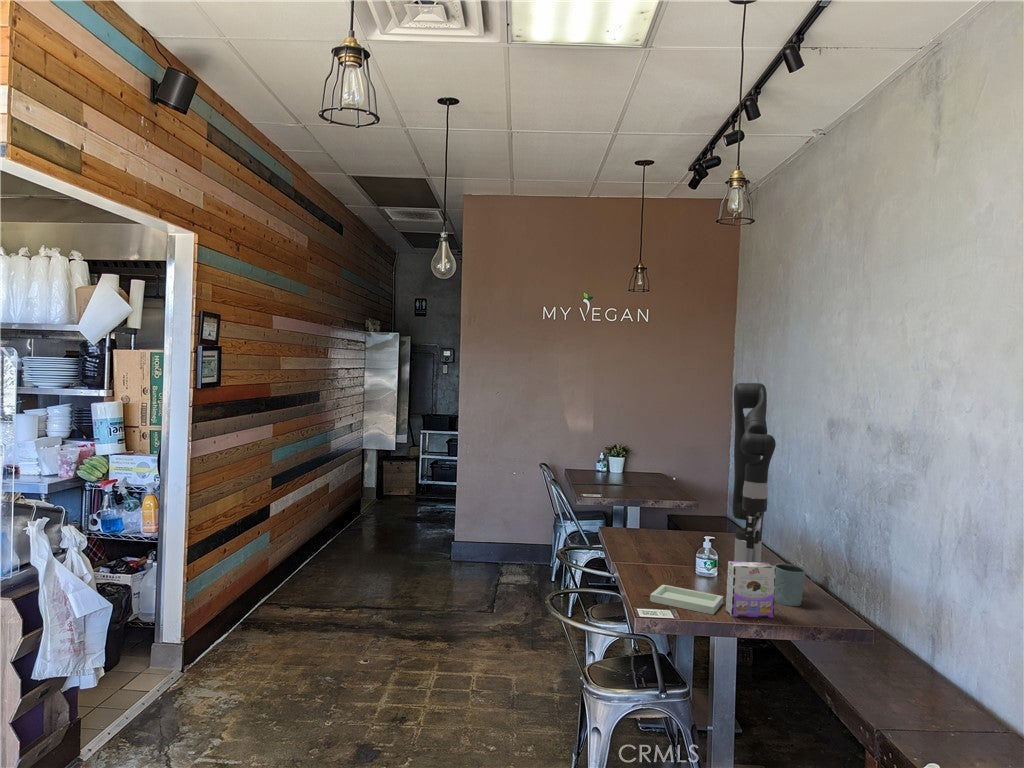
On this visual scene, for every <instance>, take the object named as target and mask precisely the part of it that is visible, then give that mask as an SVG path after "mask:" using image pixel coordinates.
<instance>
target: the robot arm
mask: <svg viewBox="0 0 1024 768" xmlns="http://www.w3.org/2000/svg"><path fill="white" fill-rule="evenodd" d="M767 395H768V394H767V389H766V386H765V385H764V384H763V383H762V382H761V383H759V382H749V383H748V382H737V383H736V384H735V385H734V387H733V407H734V442H733V443H734V446H733V449H734V450H733V457H734V461H733V464H734V466H733V468H734V476H733V477H734V479H733V480H734V482H733V495H732V507H731V508H732V509H731V510H732V515H733V517H734V518H735V519H737V520H742V521H745V527H742V528H738V529H736V530H735V537H734V557H733V558H734V559H733V562H761V560H762V541H763V540H762V539H763V538H762V537H763V525H764V514H765V512H767V511H768V499H769V497H768V495H769V494H768V493H769V485H768V479H769V470H770V469H769V468H770V464H771V460H772V457H773V455H774V453H775V449H776V445H777V443H776V439H775V437H773V435H772V434H768V426H767V419H766V418H767V406H768V405H767V403H768V398H767ZM744 409H750V411H749V412H747V414H746V415H745V413H744ZM761 563H762V562H761Z"/></svg>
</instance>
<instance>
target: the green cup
mask: <svg viewBox="0 0 1024 768" xmlns="http://www.w3.org/2000/svg"><path fill="white" fill-rule="evenodd" d="M773 566H775V567H776V572H775V597H774V602H776V603H778V604H779V605H783V606H787V605H788V607H798V606H801V605H802V600H803V599H802V598H803V590H804V585H805V579H806V573H807V570H806V569H805V568H804V567H802V566H799V565H796V564H790V563H776V564H774V565H773Z"/></svg>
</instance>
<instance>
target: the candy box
mask: <svg viewBox="0 0 1024 768" xmlns="http://www.w3.org/2000/svg"><path fill="white" fill-rule="evenodd" d="M775 572H776V567H775V566H774V565H772V563H770V562H734V561H731V560H728V562H727V577H726V593H725V594H726V595H725V597H726V598H725V611H726V612H727V614H728V615H729V616H730V617H734V618H737V617H739V618H740V617H741V618H774V617H775V600H774V597H775Z"/></svg>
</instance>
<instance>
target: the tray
mask: <svg viewBox="0 0 1024 768" xmlns="http://www.w3.org/2000/svg"><path fill="white" fill-rule="evenodd" d="M650 601H651V602H650ZM649 602H650V603H656V604H660V605H665V606H669V607H675V608H679V609H684V610H689V611H694V612H699V613H705V614H708V615H715V613H717V611H718V609H720V608H721V606H722V605H723V604H724V596H723V595H718V594H714V593H708V592H703V591H699V590H695V589H694V590H692V589H689V588H688V589H687V588H683V587H677V586H672V585H667V584H661V585H660V586H659V587H658V588H657V589H655V590H654V591H652V593H650V597H649Z"/></svg>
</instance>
